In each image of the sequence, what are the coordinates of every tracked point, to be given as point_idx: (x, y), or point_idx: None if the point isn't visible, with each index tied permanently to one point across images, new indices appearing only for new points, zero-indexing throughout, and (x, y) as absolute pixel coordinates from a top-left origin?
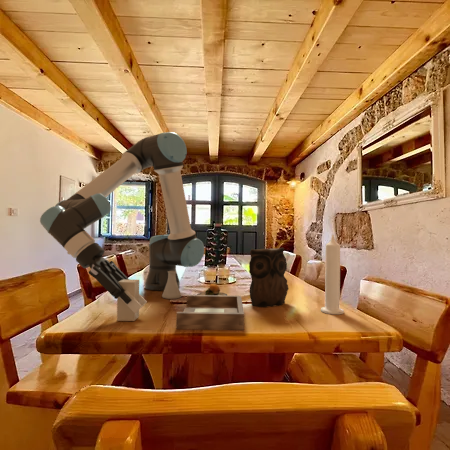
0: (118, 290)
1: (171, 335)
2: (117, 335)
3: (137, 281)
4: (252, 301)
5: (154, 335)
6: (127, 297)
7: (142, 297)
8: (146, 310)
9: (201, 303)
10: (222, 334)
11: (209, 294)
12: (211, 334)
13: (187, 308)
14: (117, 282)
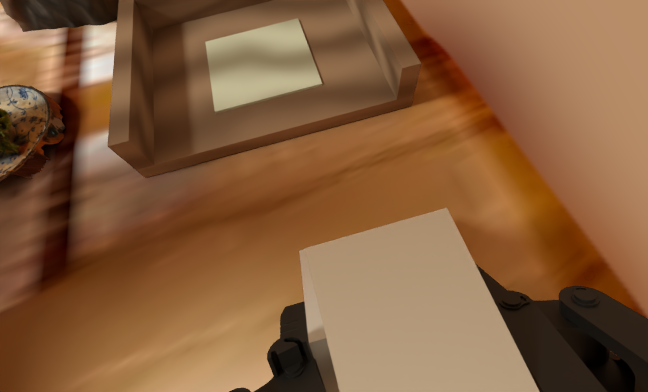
0: (596, 295)
1: (468, 94)
2: (577, 243)
3: (363, 234)
4: (102, 8)
5: (496, 133)
6: (480, 269)
7: (305, 268)
8: (211, 331)
9: (149, 111)
10: (397, 8)
11: (8, 125)
12: (408, 24)
13: (209, 140)
14: (565, 380)
